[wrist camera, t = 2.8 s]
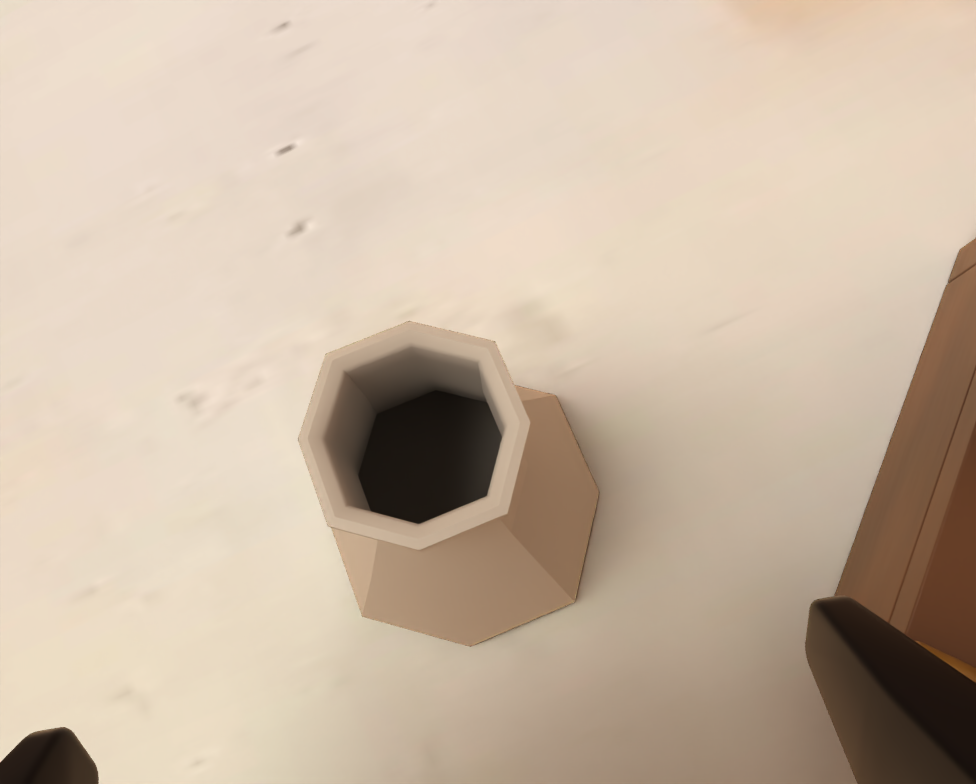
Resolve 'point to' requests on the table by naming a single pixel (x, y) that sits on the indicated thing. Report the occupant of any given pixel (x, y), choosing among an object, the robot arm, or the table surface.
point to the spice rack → (929, 494)
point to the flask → (447, 484)
